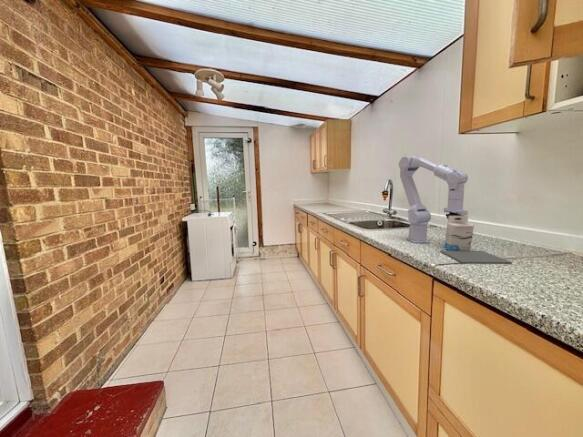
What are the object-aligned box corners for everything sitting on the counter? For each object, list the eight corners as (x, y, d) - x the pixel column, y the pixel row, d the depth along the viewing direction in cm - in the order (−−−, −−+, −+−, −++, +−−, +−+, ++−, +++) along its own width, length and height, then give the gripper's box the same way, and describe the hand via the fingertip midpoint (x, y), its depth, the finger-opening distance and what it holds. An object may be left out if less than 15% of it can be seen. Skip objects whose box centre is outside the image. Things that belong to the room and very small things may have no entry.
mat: (439, 251, 108) (439, 250, 108) (481, 252, 106) (481, 250, 106) (461, 263, 92) (462, 261, 92) (511, 263, 90) (512, 262, 90)
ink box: (449, 251, 108) (453, 218, 105) (443, 247, 113) (447, 215, 109) (470, 251, 107) (475, 218, 104) (464, 247, 112) (468, 215, 108)
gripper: (437, 198, 118) (436, 227, 120) (455, 200, 104) (454, 232, 105) (453, 198, 118) (451, 227, 119) (473, 200, 103) (471, 232, 105)
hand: (453, 229), depth 112 cm, fingers closed
